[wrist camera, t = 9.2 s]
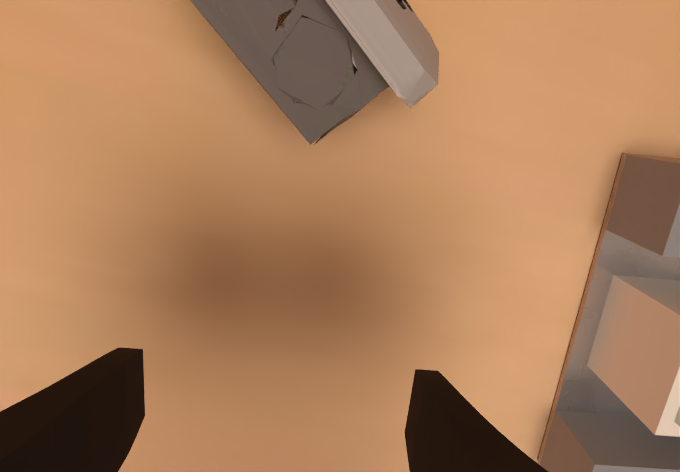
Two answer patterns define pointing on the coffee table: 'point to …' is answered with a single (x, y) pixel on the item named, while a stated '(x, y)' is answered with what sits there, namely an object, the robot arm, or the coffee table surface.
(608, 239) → the rail
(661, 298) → the block
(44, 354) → the coffee table surface
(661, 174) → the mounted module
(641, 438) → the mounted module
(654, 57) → the coffee table surface
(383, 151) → the coffee table surface
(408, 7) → the electrical switch
